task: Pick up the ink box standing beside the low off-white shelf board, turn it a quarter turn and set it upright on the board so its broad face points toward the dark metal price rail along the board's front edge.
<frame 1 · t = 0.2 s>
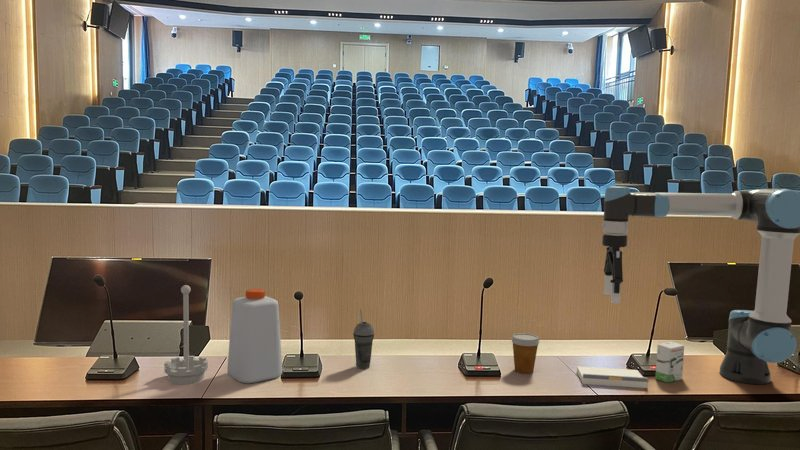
hand: (611, 298, 196), 27 cm above the table, tool pointing down, fingers open, 13 cm apart
shelf: (610, 379, 199), on the table
ink box: (668, 379, 202), on the table
beverage cup: (363, 367, 206), on the table
flag stand: (186, 378, 191), on the table
plastic bottle: (254, 375, 195), on the table
disposable coffee cup: (523, 371, 206), on the table
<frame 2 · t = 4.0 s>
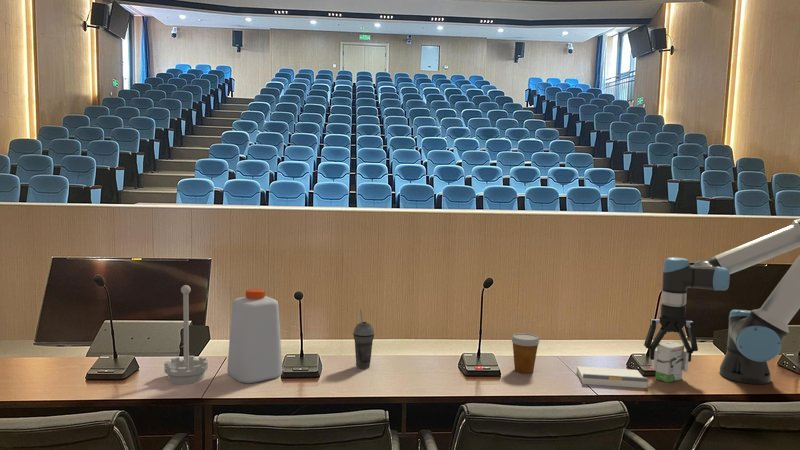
hand: (669, 369, 201), 3 cm above the table, tool pointing down, fingers closed on ink box, 9 cm apart
ink box: (668, 379, 202), on the table, touching gripper
everything else where it was.
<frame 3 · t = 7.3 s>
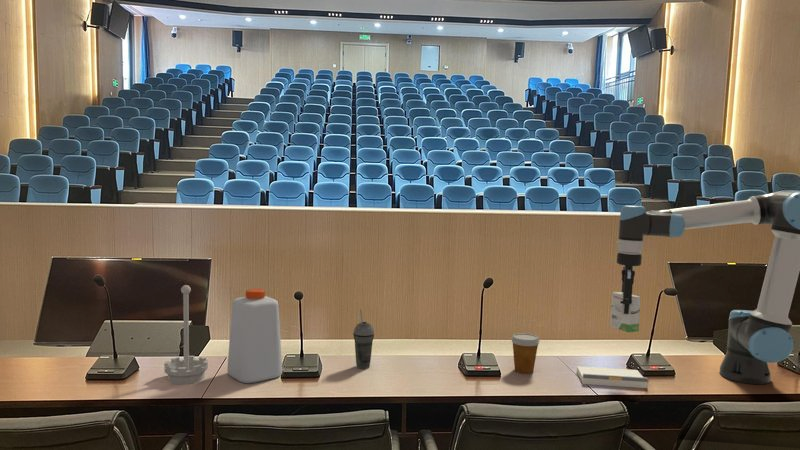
hand: (624, 320, 198), 20 cm above the table, tool pointing down, fingers closed on ink box, 9 cm apart
ink box: (623, 329, 198), point 17 cm above the table, touching gripper
everything else where it was.
when the fingers open (6 cm above the table, at t = 11.1 s): ink box drops 1 cm, resting on shelf.
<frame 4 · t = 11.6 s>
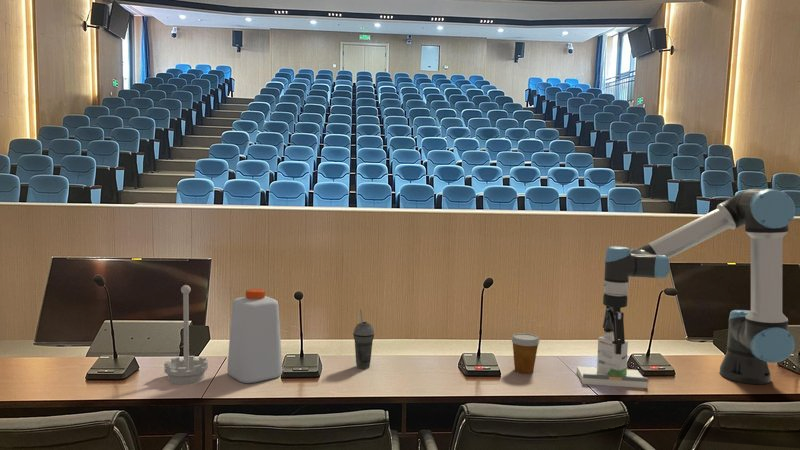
hand: (611, 357, 198), 8 cm above the table, tool pointing down, fingers open, 13 cm apart
ink box: (611, 374, 199), point 2 cm above the table, touching shelf
everything else where it was.
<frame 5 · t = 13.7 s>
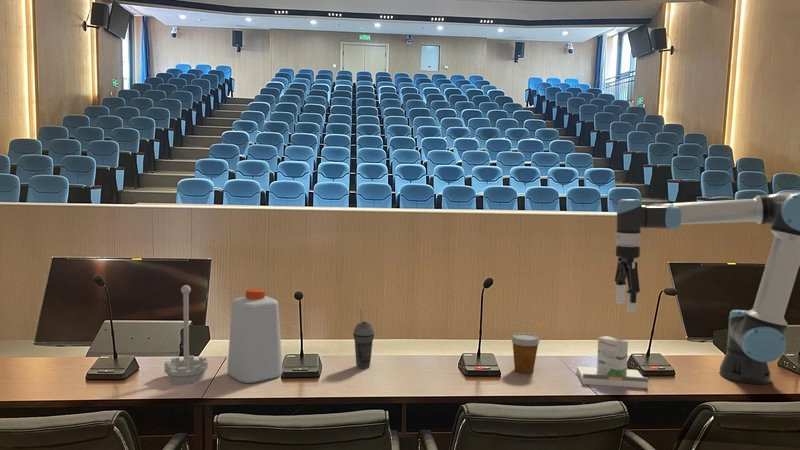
hand: (625, 308, 202), 23 cm above the table, tool pointing down, fingers open, 13 cm apart
nothing on the table moved.
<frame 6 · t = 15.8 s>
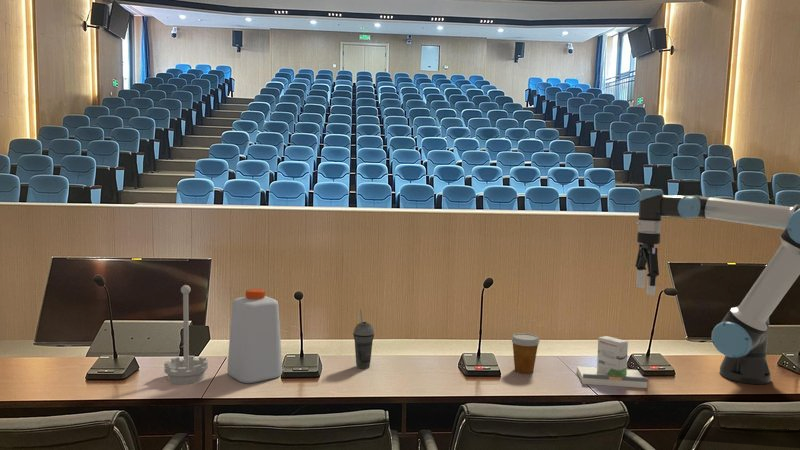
hand: (645, 291, 215), 27 cm above the table, tool pointing down, fingers open, 13 cm apart
nothing on the table moved.
at the end: ink box inside the target area on the shelf (0.4 cm from its centre), point 1.8 cm above the shelf's base; ink box tilted 0°; the gripper is holding nothing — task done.
